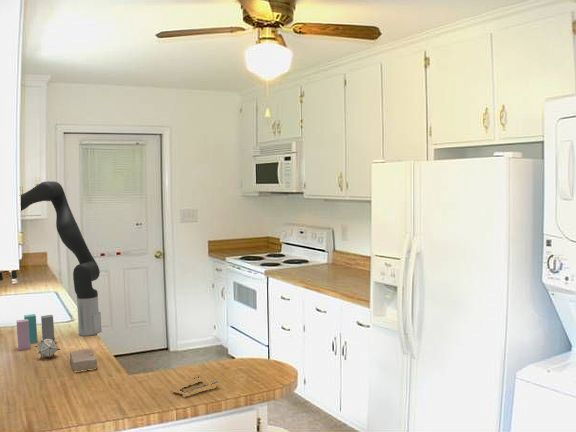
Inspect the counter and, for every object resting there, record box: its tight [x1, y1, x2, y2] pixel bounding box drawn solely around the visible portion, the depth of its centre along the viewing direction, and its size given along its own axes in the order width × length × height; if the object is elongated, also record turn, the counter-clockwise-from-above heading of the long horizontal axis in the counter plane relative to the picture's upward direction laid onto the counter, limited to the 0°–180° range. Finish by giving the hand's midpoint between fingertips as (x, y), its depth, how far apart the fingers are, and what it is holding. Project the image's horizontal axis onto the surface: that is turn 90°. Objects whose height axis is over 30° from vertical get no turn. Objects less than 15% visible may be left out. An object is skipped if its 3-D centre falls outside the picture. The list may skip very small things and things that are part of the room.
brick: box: [69, 347, 98, 372], centre depth 220 cm, size 17×8×5 cm, turn 26°
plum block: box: [16, 319, 31, 351], centre depth 248 cm, size 4×4×12 cm
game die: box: [34, 337, 61, 360], centre depth 232 cm, size 9×8×10 cm
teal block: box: [23, 313, 38, 345], centre depth 258 cm, size 4×4×12 cm
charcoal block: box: [40, 314, 56, 342], centre depth 255 cm, size 4×4×12 cm
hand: (7, 279), depth 276 cm, fingers open, 8 cm apart
